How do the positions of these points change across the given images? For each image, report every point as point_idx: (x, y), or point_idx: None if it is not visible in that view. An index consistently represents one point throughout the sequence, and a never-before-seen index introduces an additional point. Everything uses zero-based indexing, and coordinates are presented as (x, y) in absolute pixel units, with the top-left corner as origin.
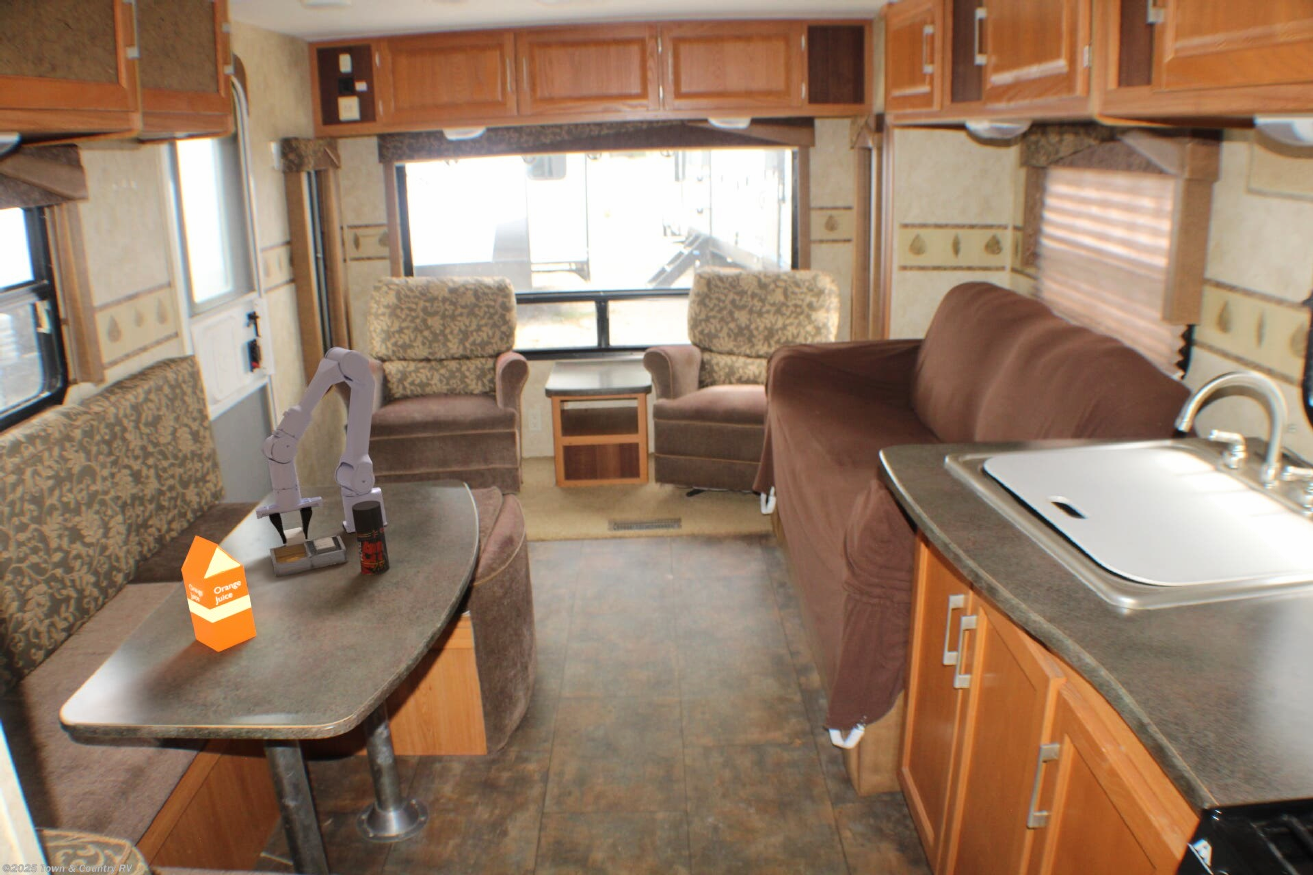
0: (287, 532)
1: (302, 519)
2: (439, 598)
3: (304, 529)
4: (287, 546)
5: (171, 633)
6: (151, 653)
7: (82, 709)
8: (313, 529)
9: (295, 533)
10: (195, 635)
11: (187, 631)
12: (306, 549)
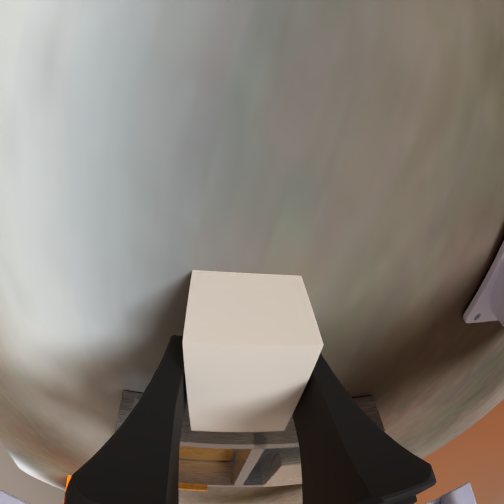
0: (208, 380)
1: (303, 497)
2: None
3: (300, 433)
4: (186, 444)
5: (31, 456)
6: (33, 464)
7: (27, 472)
8: (424, 134)
9: (249, 407)
10: (67, 479)
11: (49, 463)
12: (242, 470)
